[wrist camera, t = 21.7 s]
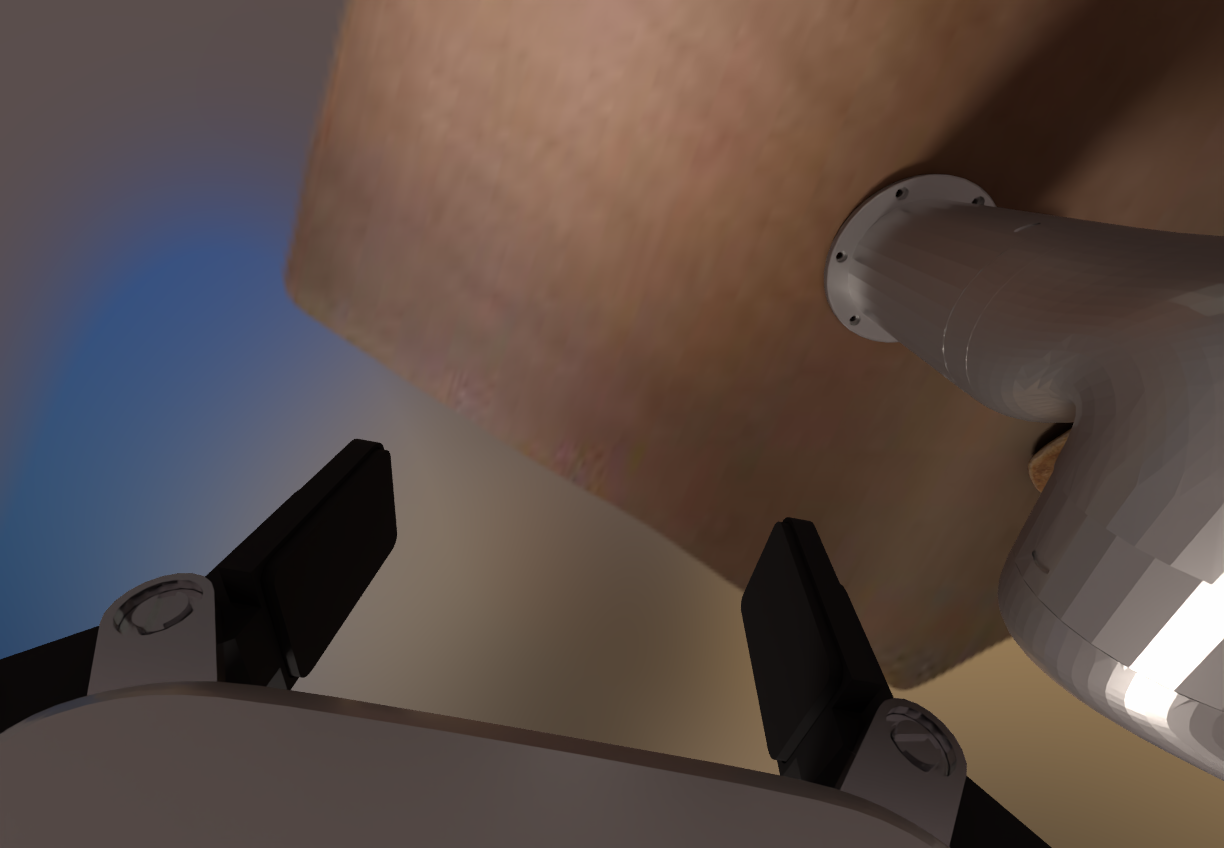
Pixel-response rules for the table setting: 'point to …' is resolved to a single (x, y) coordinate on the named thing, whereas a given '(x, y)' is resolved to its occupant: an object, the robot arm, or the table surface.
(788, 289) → the table surface
